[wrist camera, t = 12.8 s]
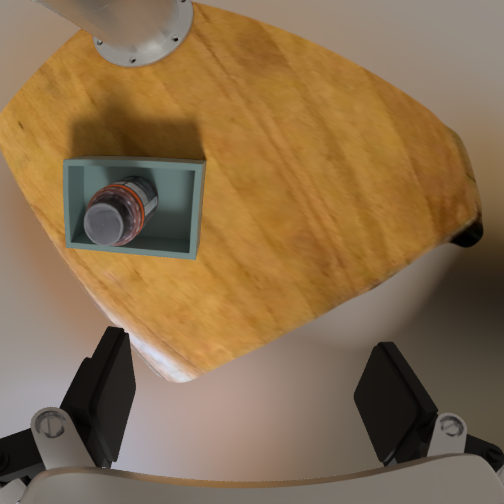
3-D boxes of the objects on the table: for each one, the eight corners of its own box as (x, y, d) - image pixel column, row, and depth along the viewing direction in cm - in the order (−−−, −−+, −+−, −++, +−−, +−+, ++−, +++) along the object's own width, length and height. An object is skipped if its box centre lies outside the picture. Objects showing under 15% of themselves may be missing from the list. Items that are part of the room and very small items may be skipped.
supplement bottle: (129, 231, 37) (95, 268, 26) (105, 190, 35) (61, 213, 24) (169, 208, 36) (145, 238, 26) (144, 165, 34) (110, 178, 24)
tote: (82, 155, 33) (63, 159, 29) (206, 160, 35) (202, 164, 31) (82, 234, 37) (66, 247, 32) (199, 244, 39) (195, 259, 34)
